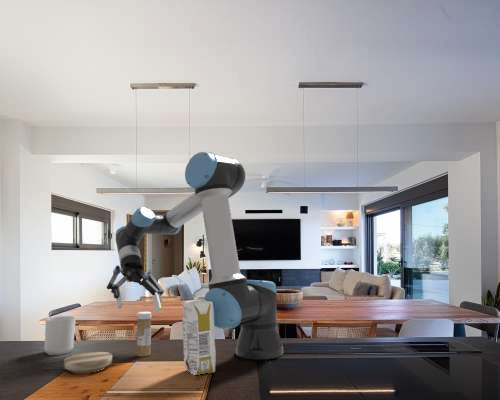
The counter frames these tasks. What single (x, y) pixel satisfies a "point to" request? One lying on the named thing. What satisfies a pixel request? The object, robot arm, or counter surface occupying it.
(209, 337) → the juice carton
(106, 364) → the disc
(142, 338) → the spice jar
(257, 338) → the robot arm
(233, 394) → the counter surface
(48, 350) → the mug
